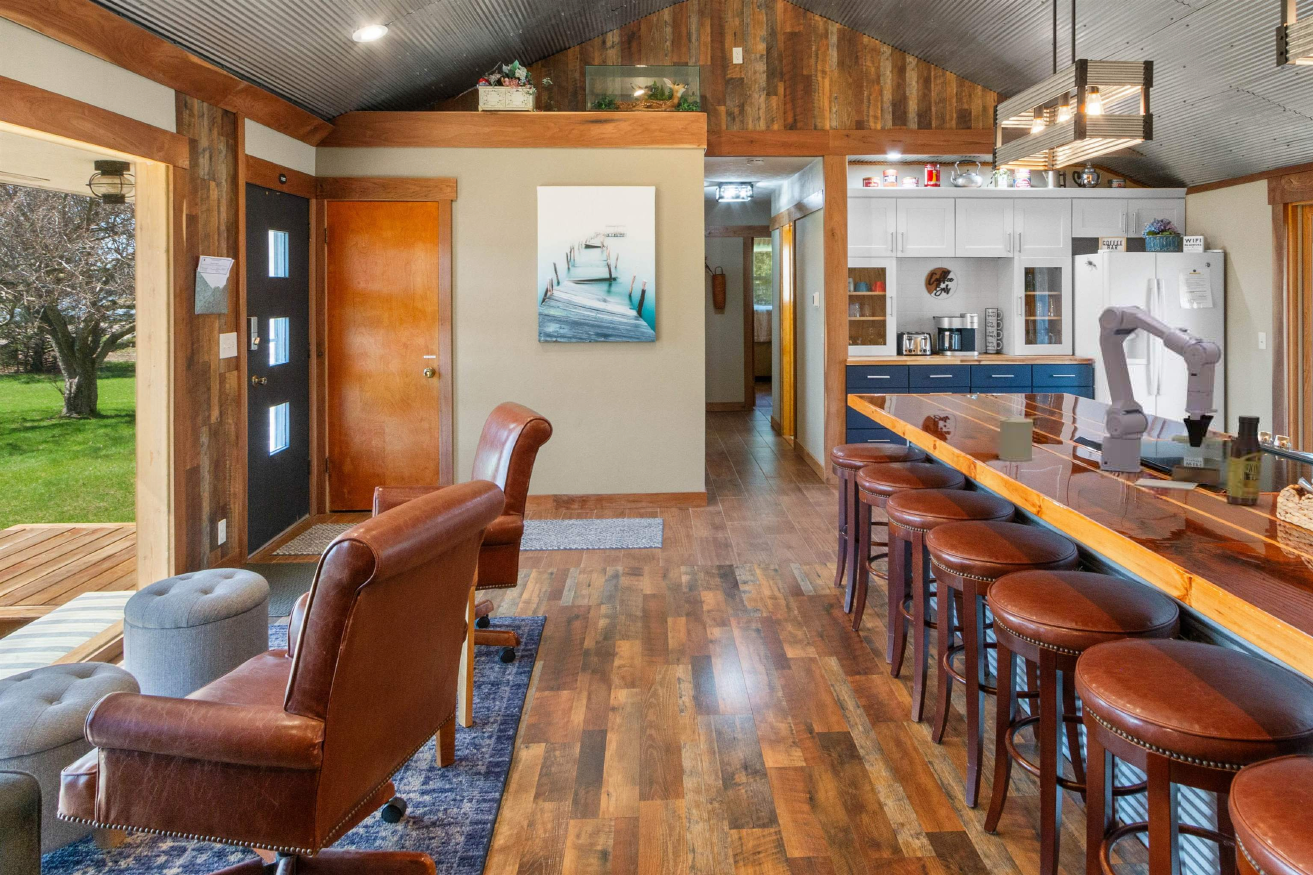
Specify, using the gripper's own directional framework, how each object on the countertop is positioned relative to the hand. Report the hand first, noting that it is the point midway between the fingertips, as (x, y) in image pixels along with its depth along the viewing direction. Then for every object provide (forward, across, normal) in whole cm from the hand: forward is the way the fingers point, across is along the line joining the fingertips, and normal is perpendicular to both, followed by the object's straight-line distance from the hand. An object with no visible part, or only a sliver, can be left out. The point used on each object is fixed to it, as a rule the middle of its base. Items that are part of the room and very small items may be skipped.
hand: (1196, 445), depth 239 cm
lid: (-1, 0, 0) cm, 1 cm away
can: (+10, +14, +48) cm, 51 cm away
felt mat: (+9, -7, +5) cm, 13 cm away
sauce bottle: (+10, -22, -12) cm, 27 cm away
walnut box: (+9, 0, 0) cm, 9 cm away
